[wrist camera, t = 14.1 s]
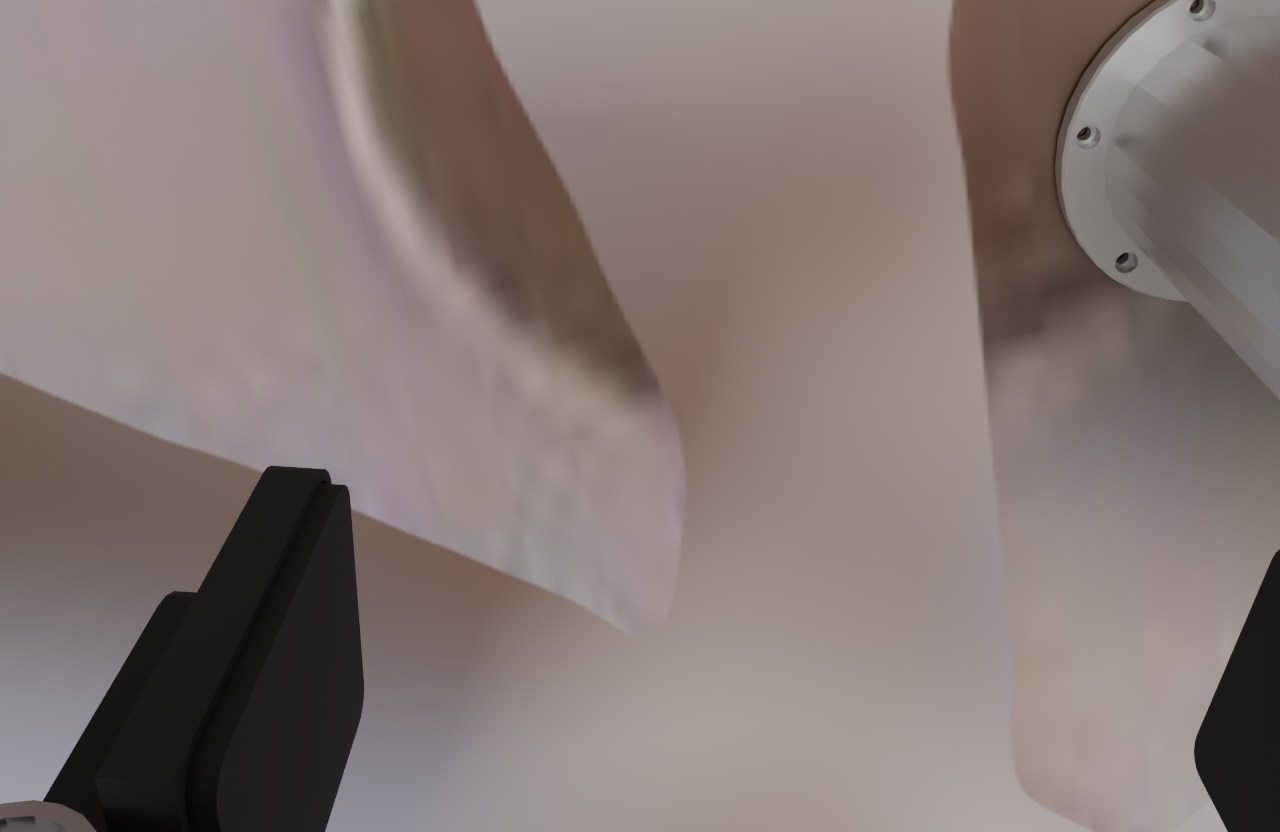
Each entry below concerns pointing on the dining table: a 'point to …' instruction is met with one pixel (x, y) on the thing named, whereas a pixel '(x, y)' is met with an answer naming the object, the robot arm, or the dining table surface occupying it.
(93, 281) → the dining table surface
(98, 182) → the dining table surface
